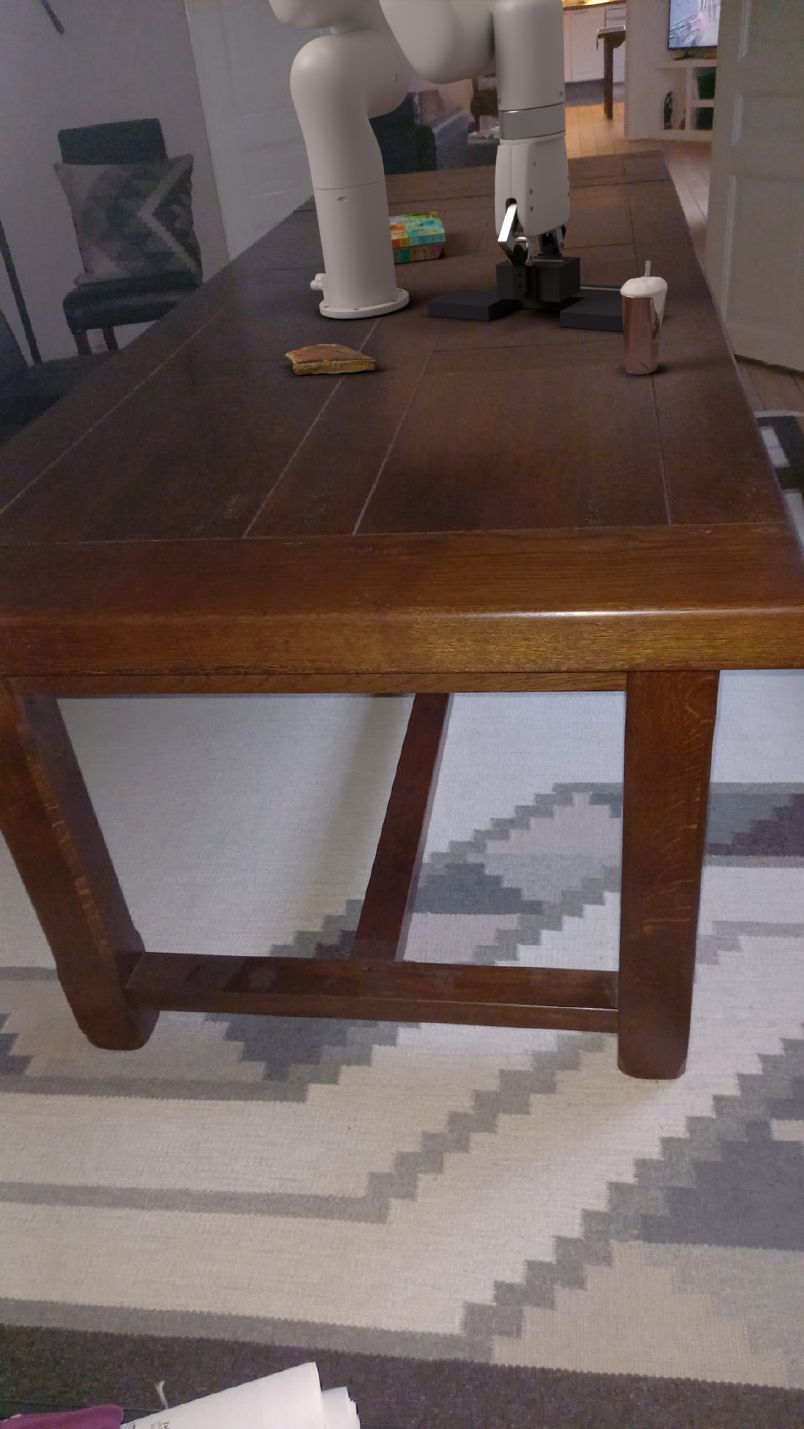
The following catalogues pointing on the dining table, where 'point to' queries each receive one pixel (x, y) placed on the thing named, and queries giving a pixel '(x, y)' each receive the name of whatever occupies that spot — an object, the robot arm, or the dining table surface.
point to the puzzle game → (417, 236)
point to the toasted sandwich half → (329, 360)
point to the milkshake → (642, 321)
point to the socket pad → (538, 306)
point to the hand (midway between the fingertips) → (538, 292)
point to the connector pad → (544, 278)
